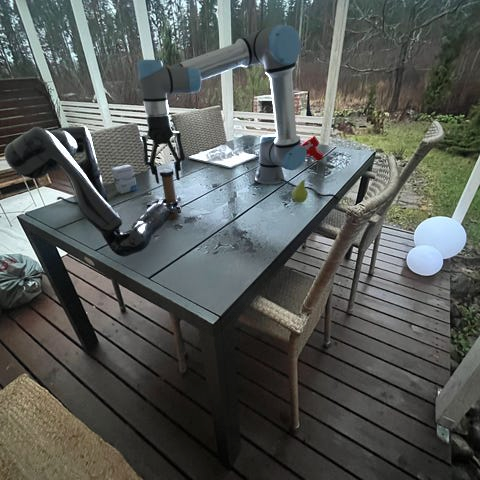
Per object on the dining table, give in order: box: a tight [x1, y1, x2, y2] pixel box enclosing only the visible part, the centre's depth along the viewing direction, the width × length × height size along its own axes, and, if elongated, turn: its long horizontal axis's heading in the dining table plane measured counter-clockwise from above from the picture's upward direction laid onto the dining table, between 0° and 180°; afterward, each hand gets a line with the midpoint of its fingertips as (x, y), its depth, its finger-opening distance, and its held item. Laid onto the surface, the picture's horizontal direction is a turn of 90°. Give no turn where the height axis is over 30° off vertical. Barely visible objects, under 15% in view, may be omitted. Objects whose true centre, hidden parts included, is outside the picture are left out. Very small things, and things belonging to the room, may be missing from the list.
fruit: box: [291, 174, 311, 204], centre depth 118 cm, size 7×8×12 cm
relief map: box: [188, 143, 257, 169], centre depth 179 cm, size 27×35×5 cm
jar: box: [161, 174, 179, 219], centre depth 106 cm, size 4×4×18 cm
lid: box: [159, 168, 175, 178], centre depth 101 cm, size 5×5×2 cm
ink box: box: [110, 164, 138, 195], centre depth 131 cm, size 8×5×12 cm, turn 135°
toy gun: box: [301, 135, 324, 163], centre depth 172 cm, size 18×4×15 cm
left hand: (173, 198), depth 110 cm, fingers closed on jar, 4 cm apart
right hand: (167, 180), depth 103 cm, fingers open, 7 cm apart
